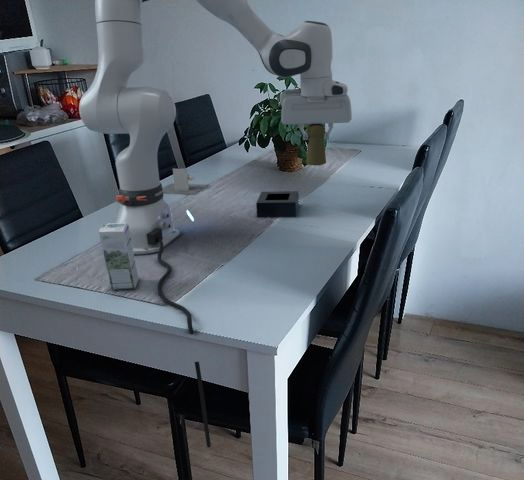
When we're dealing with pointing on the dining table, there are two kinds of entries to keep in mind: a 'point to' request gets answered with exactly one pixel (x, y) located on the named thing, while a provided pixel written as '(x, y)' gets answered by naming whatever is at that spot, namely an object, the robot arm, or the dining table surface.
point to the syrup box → (119, 255)
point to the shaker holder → (278, 204)
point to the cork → (316, 145)
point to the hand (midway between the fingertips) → (316, 139)
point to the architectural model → (182, 183)
